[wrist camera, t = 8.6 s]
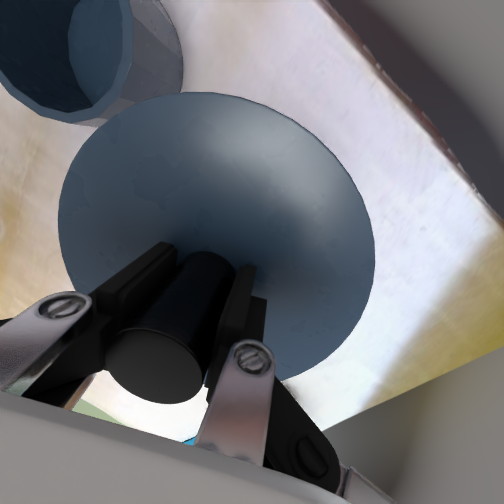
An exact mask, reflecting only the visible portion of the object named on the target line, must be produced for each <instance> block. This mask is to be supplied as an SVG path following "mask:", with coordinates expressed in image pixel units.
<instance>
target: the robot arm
mask: <svg viewBox="0 0 504 504" xmlns="http://www.w3.org/2000/svg"><path fill="white" fill-rule="evenodd" d="M177 254H178V250H177V249H176V248H175V247H174V245H173V244H170V243H166V242H162V241H160V242H159V243H157V244H156V245H155V246H153V247H152V248H150V249H149V250H148V251H146V252H145V253H144V254H142V255H141V256H140V257H138V258H137V259H135V260H134V261H133V262H131V263H130V264H129V265H127V266H126V267H124V268H123V269H122V270H120V271H119V272H118V273H116V274H115V275H114V276H112V277H111V278H109V279H108V280H107V281H105V282H104V283H103V284H101V285H100V286H98V287H97V288H96V289H95V290H94V291H92V292H91V293H89V294H88V295H87V294H85V293H82V292H76V291H65V292H59V293H54V294H52V295H49V296H46V297H44V298H42V299H41V300H39V301H37V302H36V303H34V304H33V305H32V306H30V307H29V308H27V309H26V310H24V311H23V312H21V313H20V314H19V315H17V316H16V317H14V318H9V319H4V320H0V504H398V503H396V502H395V501H394V500H393V499H391V498H390V497H389V496H388V495H387V494H385V493H384V492H383V491H382V490H380V489H379V488H378V487H377V486H376V485H374V484H373V483H372V482H371V481H369V480H368V479H367V478H366V477H365V476H363V475H362V474H361V473H360V472H358V471H357V470H356V469H355V468H354V467H352V466H351V465H350V466H349V467H348V468H347V467H346V466H344V465H343V464H342V463H341V462H340V461H339V460H338V457H337V455H336V452H335V450H334V448H333V447H332V445H331V444H330V442H329V441H328V439H327V438H326V437H325V436H324V434H323V433H322V432H321V431H320V429H319V428H318V427H317V426H316V425H315V423H314V422H313V421H312V420H311V419H310V417H309V416H308V415H307V414H306V412H305V411H304V410H303V409H302V408H301V406H300V405H299V404H298V403H297V401H296V400H295V399H294V398H293V397H292V395H291V394H290V393H289V392H288V390H287V389H286V388H285V387H284V386H283V384H282V383H281V382H280V381H279V379H278V378H277V377H276V376H275V370H276V359H275V356H274V354H273V352H272V351H271V350H270V348H269V347H268V346H266V345H265V344H264V343H263V336H264V327H265V318H266V308H267V299H263V298H260V297H256V296H252V295H251V293H252V288H253V284H254V279H255V275H256V270H257V267H256V266H252V265H248V264H245V267H243V266H240V267H239V270H238V272H237V275H236V278H235V280H234V283H233V286H232V288H231V291H230V294H229V296H228V299H227V301H226V304H225V307H224V309H223V312H222V315H221V317H220V320H219V324H218V327H217V332H216V336H215V341H214V345H213V350H212V358H211V362H210V365H209V368H208V372H207V377H206V381H205V386H204V387H206V388H209V389H208V393H207V398H206V401H207V403H208V404H209V405H208V408H207V410H206V413H205V415H204V418H203V421H202V423H201V426H200V428H199V431H198V434H197V436H196V439H195V441H194V444H193V446H192V445H189V444H185V443H182V442H178V441H175V440H171V439H168V438H164V437H161V436H158V435H154V434H151V433H147V432H144V431H140V430H137V429H133V428H130V427H126V426H123V425H119V424H116V423H112V422H109V421H105V420H102V419H98V418H95V417H91V416H87V415H84V414H81V413H77V412H73V411H71V410H72V409H73V408H74V406H75V405H76V403H77V402H78V401H79V399H80V398H81V396H82V395H83V394H84V392H85V391H86V389H87V388H88V387H89V385H90V384H91V383H92V381H93V380H94V378H95V376H96V373H97V372H100V371H102V370H106V371H108V369H107V366H106V364H105V360H104V350H105V346H106V344H107V342H108V340H109V339H110V338H111V337H112V336H113V335H114V333H115V332H116V331H117V330H118V329H119V328H120V327H121V326H122V325H123V324H124V323H125V322H126V320H127V319H128V318H129V317H130V316H131V315H132V314H133V313H134V312H135V311H136V310H137V309H138V308H139V306H140V305H141V304H142V303H143V302H144V301H145V300H146V299H147V298H148V297H149V296H150V295H151V294H152V292H153V291H154V290H155V289H156V288H157V287H158V286H159V285H160V284H161V283H162V282H163V281H164V279H165V278H166V277H167V276H168V275H169V274H170V273H171V272H172V271H173V270H174V269H175V268H176V263H177Z"/></svg>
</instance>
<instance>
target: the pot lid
mask: <svg viewBox="0 0 504 504" xmlns="http://www.w3.org/2000/svg"><path fill="white" fill-rule="evenodd" d="M58 233H59V242H60V247H61V252H62V257H63V260H64V263H65V266H66V270H67V273H68V275H69V277H70V279H71V282H72V284H73V286H74V288H75V290H76V292H82V293H85V294H87V295H88V294H89V293H91V292H92V291H94V290H95V289H96V288H97V287H98V286H100V285H101V284H103V283H104V282H105V281H107V280H108V279H109V278H111V277H112V276H114V275H115V274H116V273H118V272H119V271H120V270H122V269H123V268H124V267H126V266H127V265H129V264H130V263H131V262H133V261H134V260H135V259H137V258H138V257H140V256H141V255H142V254H144V253H145V252H146V251H148V250H149V249H150V248H152V247H153V246H155V245H156V244H157V243H159V242H160V241H162V242H166V243H170V244H173V245H174V247H175V248H176V249H177V250H178V254H177V263H176V268H175V269H174V270H173V271H172V272H171V273H170V274H169V275H168V276H167V277H166V278H165V279H164V281H163V282H162V283H161V284H160V285H159V286H158V287H157V288H156V289H155V290H154V291H153V292H152V294H151V295H150V296H149V297H148V298H147V299H146V300H145V301H144V302H143V303H142V304H141V305H140V306H139V308H138V309H137V310H136V311H135V312H134V313H133V314H132V315H131V316H130V317H129V318H128V319H127V320H126V322H125V323H124V324H123V325H122V326H121V327H120V328H119V329H118V330H117V331H116V332H115V333H114V335H113V336H112V337H111V338H110V339H109V340H108V342H107V344H106V346H105V350H104V360H105V364H106V366H107V369H108V371H109V372H110V374H111V375H112V377H113V378H114V379H115V380H116V381H117V382H118V383H119V384H120V385H121V386H122V387H123V388H124V389H126V390H127V391H129V392H130V393H132V394H134V395H136V396H138V397H140V398H142V399H145V400H148V401H151V402H155V403H161V404H176V403H181V402H185V401H187V400H189V399H191V398H193V397H194V396H195V395H196V394H197V393H198V392H199V391H200V389H201V387H202V385H203V384H205V381H206V377H207V372H208V368H209V365H210V362H211V358H212V350H213V345H214V341H215V336H216V332H217V327H218V324H219V320H220V317H221V315H222V312H223V309H224V307H225V304H226V301H227V299H228V296H229V294H230V291H231V288H232V286H233V283H234V280H235V278H236V275H237V272H238V270H239V267H240V266H243V267H245V264H248V265H252V266H256V267H257V270H256V275H255V279H254V284H253V288H252V293H251V295H252V296H256V297H260V298H263V299H267V308H266V318H265V327H264V336H263V343H264V344H265V345H266V346H268V347H269V348H270V350H271V351H272V352H273V354H274V356H275V359H276V370H275V376H276V377H277V378H278V379H279V381H282V380H285V379H288V378H291V377H293V376H296V375H299V374H301V373H303V372H305V371H306V370H308V369H310V368H312V367H314V366H315V365H317V364H318V363H320V362H321V361H323V360H324V359H326V358H327V357H328V356H329V355H331V354H332V353H333V352H334V351H335V350H336V349H337V348H338V347H339V346H340V345H341V344H342V343H343V342H344V341H345V340H346V338H347V337H348V336H349V335H350V334H351V332H352V331H353V329H354V327H355V326H356V324H357V323H358V321H359V320H360V318H361V316H362V313H363V311H364V309H365V307H366V305H367V302H368V299H369V295H370V292H371V288H372V285H373V277H374V269H375V244H374V237H373V232H372V227H371V222H370V218H369V215H368V213H367V210H366V207H365V204H364V201H363V199H362V196H361V195H360V193H359V191H358V189H357V187H356V185H355V184H354V182H353V180H352V178H351V176H350V175H349V173H348V172H347V171H346V169H345V168H344V167H343V165H342V164H341V163H340V161H339V160H338V159H337V157H336V156H335V155H334V154H333V153H332V152H331V151H330V150H329V149H328V148H327V147H326V146H325V145H324V144H323V143H322V142H321V141H320V140H319V139H318V138H317V137H316V136H315V135H313V134H312V133H311V132H309V131H308V130H307V129H305V128H304V127H302V126H301V125H300V124H298V123H297V122H295V121H294V120H293V119H291V118H289V117H287V116H285V115H283V114H281V113H279V112H277V111H276V110H274V109H272V108H270V107H268V106H265V105H262V104H259V103H256V102H253V101H250V100H247V99H245V98H242V97H237V96H231V95H226V94H220V93H214V92H182V93H175V94H169V95H162V96H158V97H155V98H152V99H149V100H146V101H143V102H140V103H137V104H135V105H133V106H131V107H129V108H127V109H125V110H123V111H122V112H120V113H118V114H116V115H114V116H113V117H112V118H111V119H109V120H108V121H107V122H105V123H104V124H103V125H102V126H100V127H99V128H98V129H97V130H96V131H95V132H94V133H93V134H92V135H91V136H90V138H89V139H88V140H87V141H86V142H85V143H84V144H83V145H82V147H81V149H80V150H79V152H78V153H77V155H76V157H75V158H74V160H73V161H72V163H71V165H70V168H69V170H68V173H67V175H66V177H65V180H64V183H63V187H62V191H61V196H60V200H59V210H58Z"/></svg>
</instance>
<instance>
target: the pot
mask: <svg viewBox="0 0 504 504" xmlns="http://www.w3.org/2000/svg"><path fill="white" fill-rule="evenodd" d="M182 78H183V61H182V53H181V47H180V43H179V39H178V36H177V33H176V31H175V28H174V26H173V24H172V22H171V20H170V18H169V16H168V14H167V13H166V11H165V10H164V8H163V7H162V5H161V3H160V1H159V0H0V83H1V84H2V85H3V86H4V87H5V89H6V90H7V91H8V92H9V94H11V95H12V96H13V97H14V98H16V99H17V100H19V101H20V102H22V103H23V104H24V105H26V106H27V107H29V108H30V109H31V110H33V111H34V112H36V113H37V114H38V115H40V116H43V117H47V118H50V119H54V120H58V121H62V122H66V123H69V124H77V125H84V126H92V127H100V126H102V125H103V124H104V123H105V122H107V121H108V120H109V119H111V118H112V117H113V116H114V115H116V114H118V113H120V112H122V111H123V110H125V109H127V108H129V107H131V106H133V105H135V104H137V103H140V102H143V101H146V100H149V99H152V98H155V97H158V96H162V95H169V94H175V93H180V89H181V85H182Z"/></svg>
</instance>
